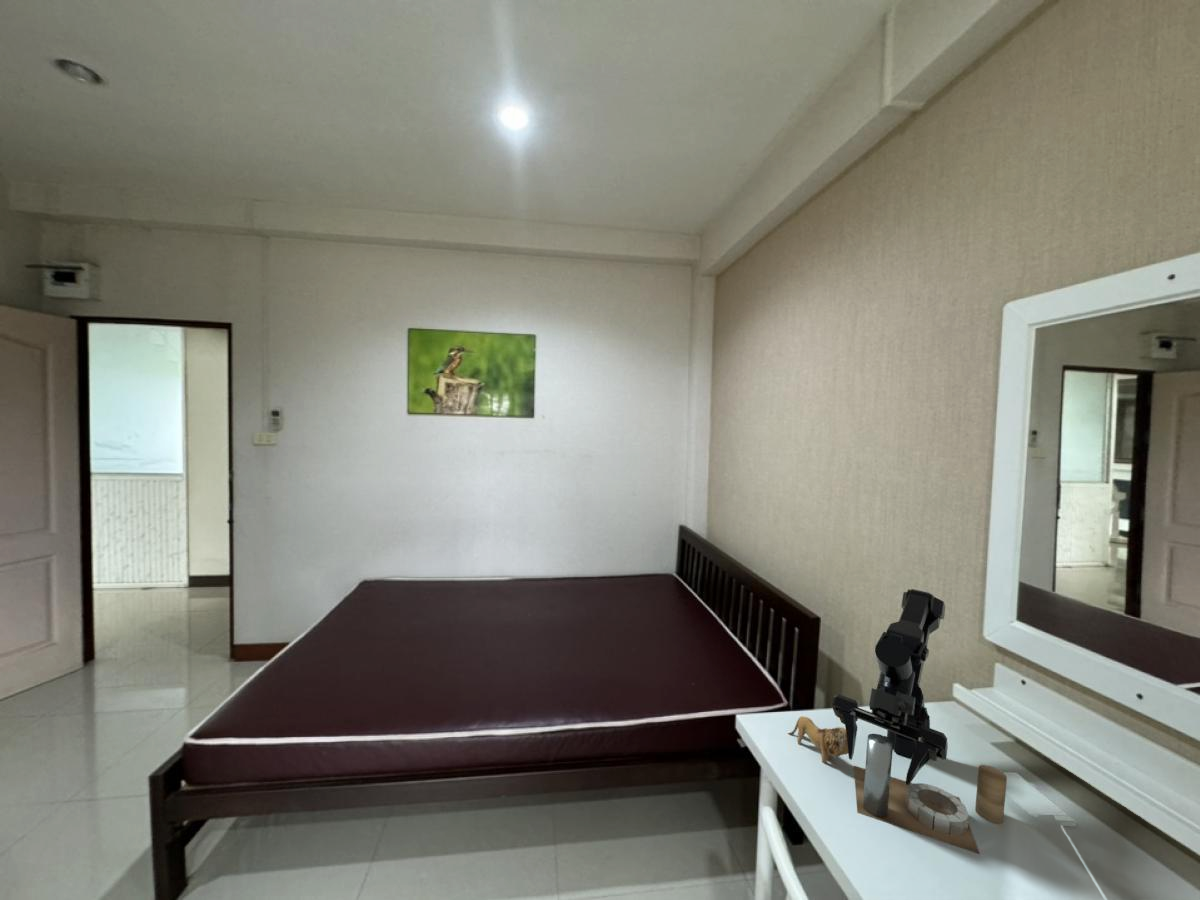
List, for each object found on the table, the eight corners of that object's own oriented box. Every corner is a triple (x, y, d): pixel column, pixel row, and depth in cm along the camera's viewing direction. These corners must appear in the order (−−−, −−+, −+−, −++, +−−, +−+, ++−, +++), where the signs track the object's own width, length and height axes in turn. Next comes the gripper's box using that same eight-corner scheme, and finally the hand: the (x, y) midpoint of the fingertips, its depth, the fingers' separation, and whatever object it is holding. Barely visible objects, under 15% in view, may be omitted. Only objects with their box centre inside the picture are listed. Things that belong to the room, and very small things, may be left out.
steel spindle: (862, 797, 91) (866, 731, 90) (886, 805, 89) (891, 737, 89) (863, 812, 87) (868, 743, 87) (888, 821, 86) (894, 750, 85)
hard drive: (978, 770, 100) (1032, 818, 88) (1017, 772, 100) (1076, 820, 88) (977, 778, 100) (1031, 827, 88) (1016, 780, 100) (1076, 829, 88)
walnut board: (853, 770, 100) (853, 765, 100) (958, 802, 92) (959, 797, 92) (857, 817, 87) (857, 812, 87) (979, 859, 80) (980, 854, 80)
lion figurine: (855, 772, 100) (858, 730, 99) (842, 782, 96) (845, 738, 96) (792, 733, 112) (795, 695, 111) (778, 740, 109) (780, 702, 108)
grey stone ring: (903, 789, 94) (904, 777, 94) (959, 807, 90) (960, 794, 90) (910, 822, 86) (911, 809, 85) (972, 843, 82) (974, 829, 82)
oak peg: (972, 808, 91) (976, 762, 91) (998, 816, 89) (1002, 769, 89) (978, 823, 87) (982, 775, 87) (1005, 832, 86) (1010, 783, 85)
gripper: (837, 654, 97) (816, 731, 89) (951, 690, 85) (937, 783, 77) (845, 678, 103) (826, 752, 96) (952, 716, 91) (940, 804, 83)
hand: (877, 771), depth 88 cm, fingers open, 9 cm apart
